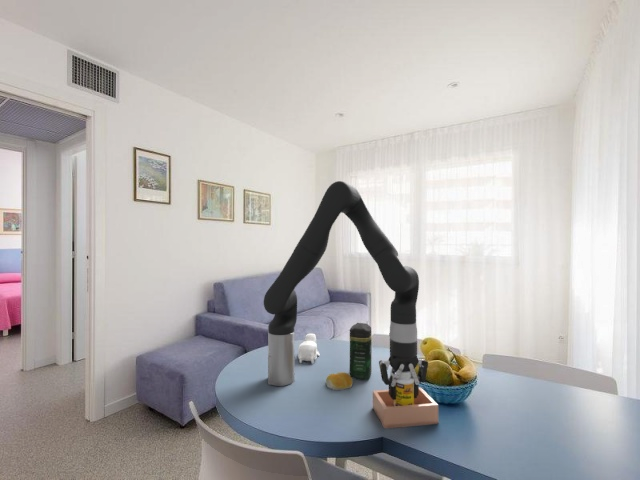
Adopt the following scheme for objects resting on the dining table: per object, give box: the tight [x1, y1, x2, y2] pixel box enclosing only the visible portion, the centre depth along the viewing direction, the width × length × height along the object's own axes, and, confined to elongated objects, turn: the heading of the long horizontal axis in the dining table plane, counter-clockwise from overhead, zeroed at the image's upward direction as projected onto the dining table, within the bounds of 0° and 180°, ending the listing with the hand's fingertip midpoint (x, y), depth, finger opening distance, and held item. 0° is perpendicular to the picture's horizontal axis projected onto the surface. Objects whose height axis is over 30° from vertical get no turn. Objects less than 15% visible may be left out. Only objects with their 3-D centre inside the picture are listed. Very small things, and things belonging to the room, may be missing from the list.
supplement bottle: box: [394, 371, 414, 406], centre depth 84 cm, size 6×6×10 cm
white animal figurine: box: [297, 333, 321, 365], centre depth 128 cm, size 9×8×15 cm
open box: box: [372, 386, 439, 429], centre depth 84 cm, size 15×10×5 cm, turn 98°
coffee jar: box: [349, 322, 373, 381], centre depth 111 cm, size 10×8×19 cm
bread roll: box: [325, 372, 354, 391], centre depth 103 cm, size 8×9×4 cm
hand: (403, 397), depth 84 cm, fingers closed on supplement bottle, 5 cm apart
